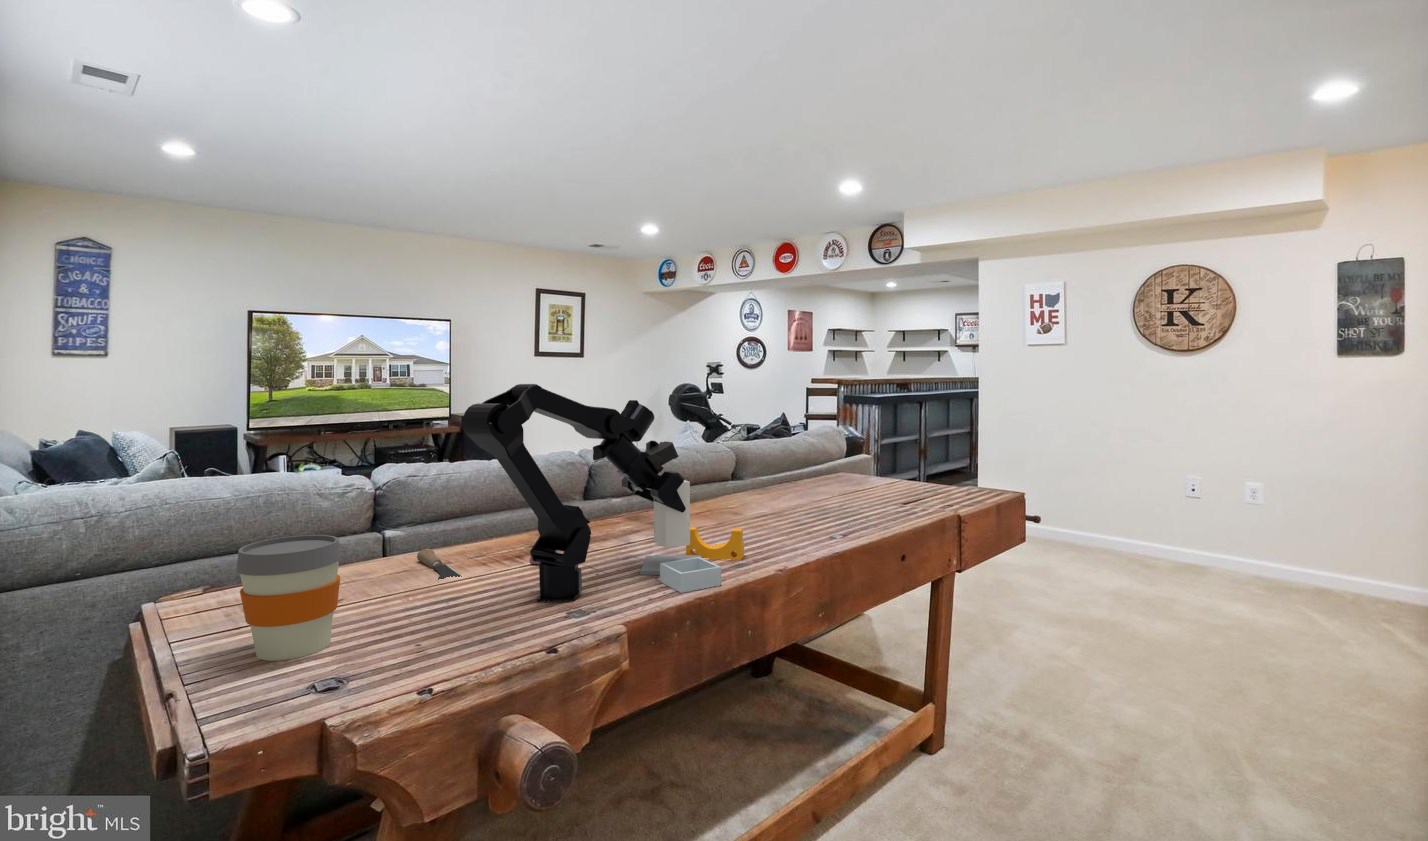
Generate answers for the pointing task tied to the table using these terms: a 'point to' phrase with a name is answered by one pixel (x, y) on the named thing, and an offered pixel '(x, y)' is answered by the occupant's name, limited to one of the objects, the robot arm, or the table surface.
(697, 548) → the pipe clamp
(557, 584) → the robot arm
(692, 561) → the sleeve
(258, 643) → the reusable coffee cup
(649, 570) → the mat
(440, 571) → the hand tool
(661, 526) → the tall block
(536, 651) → the table surface
